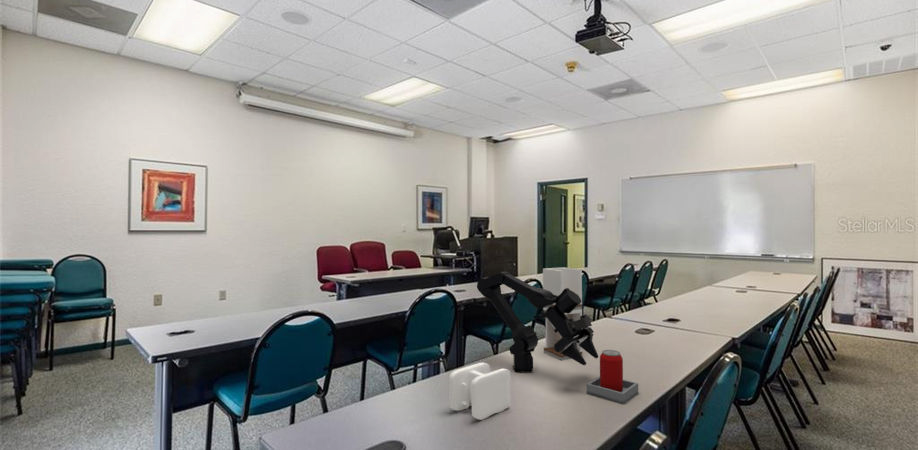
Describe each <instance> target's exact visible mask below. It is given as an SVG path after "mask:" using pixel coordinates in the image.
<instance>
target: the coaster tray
mask: <svg viewBox="0 0 918 450" xmlns="http://www.w3.org/2000/svg"><path fill="white" fill-rule="evenodd" d="M585 385H586V390H585V391H586V395H589V396H594V397H596V398H600V399H604V400H607V401H611V402H614V403H618V404H621V405H624V404H626V403H627V402H628V401H630V400H632V398H634V397H635V396H637V394H639V382H634V381H632V380H631V381H630V380H627V379H623V390H622V391H621V392H618V391H614V390H611V389H607V388H603V387H600V375H599V376H597V377H595V378H594V379H593V380H591V381H589V382H587V383H586V384H585Z"/></svg>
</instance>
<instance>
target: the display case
mask: <svg viewBox="0 0 918 450" xmlns="http://www.w3.org/2000/svg"><path fill="white" fill-rule="evenodd" d="M582 271H583V270H582V269H577V268H570V267H551V268H549V267H547V268H546V267H545V268H542V289H545V290H548V291H550V292H552V294H553V295H557V296H559V295H560V294H561V293H562V291H563V290H564V289H566V288H569V290H571V291H573V292H574V293H576V294H578V296H579V297H580V299H581V303H580V304H579V305H578V306H577V307H576V308H575V309H574V310H573V311H572V312H571V313H569V314H567V313H565V315H566V316H567V317H568V318H569V319H570V318H572V319H573V320H574V321H576V320H579V319H580V316H582V315H583V284H582V283H583V272H582ZM555 304H556V303H555ZM555 304H552V305H551V306H552V307H553V306H554V305H555ZM549 307H550V306H549ZM549 307H545V308H542V311H546V310H547V309H548V308H549ZM554 330H555V328H554V326H553V325H552V324H551V322H550V321H549V320H548V318H545V347H543V354H546V355H548V356H550V357H553V358H555V359H557V360H559V361H567V360H572V359H571V358H569V357H567V356H565V355H563V354H561V352H560V353H557V352H556V350H555V349H554V344H555V343H556V342H558V341H559V340H560V339H561V338H562V337H561V335H560V334H559V333H558V332H557V333H555V332H554ZM575 342H576V341H575ZM579 344H580V343H577V349H578V350H579V352H580V354H581V355H582V356H583V348H581V347H580V346H579Z"/></svg>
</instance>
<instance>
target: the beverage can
mask: <svg viewBox="0 0 918 450" xmlns="http://www.w3.org/2000/svg"><path fill="white" fill-rule="evenodd" d="M623 358H624V357H623V356H622V354H621V352H620V351H617V350H614V349H604V350H602V351H601V354H600V355H599V376H600V387H603V388H607V389H611V390H614V391H618V392H621V391H622V390H623V380H624V368H623V363H624V360H623Z"/></svg>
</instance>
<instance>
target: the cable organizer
mask: <svg viewBox="0 0 918 450" xmlns="http://www.w3.org/2000/svg"><path fill="white" fill-rule="evenodd" d="M448 380H449V381H448V385H449V387H448V391H449V392H448V393H449V394H448V397H449V398H448V399H449V400H448V403H449V408H450V409H451V410H453V411H458V412H459V411H463V410H466V409H467V410H469V407H471V415H472V417H473V418H474V419H476V420H480V421H483V420H485V419H487V418H489V417H490V416H492V415H494V414H499V413H501V412H503V411H505V410H506V409H507V408H508V407H509V406H510V404H511V401H512V400H511V371H510V370H509V369H506V368H502V367H501V368H500V369H496V370H493V371H491V367H490V365H489V364H488V363H486V362H483V361H482V362H478V363H475V364H472V365H468V366H465V367H462V368H459V369H458V368H457V369H455V370H452V372H451V373H450V375H449V378H448Z"/></svg>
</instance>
